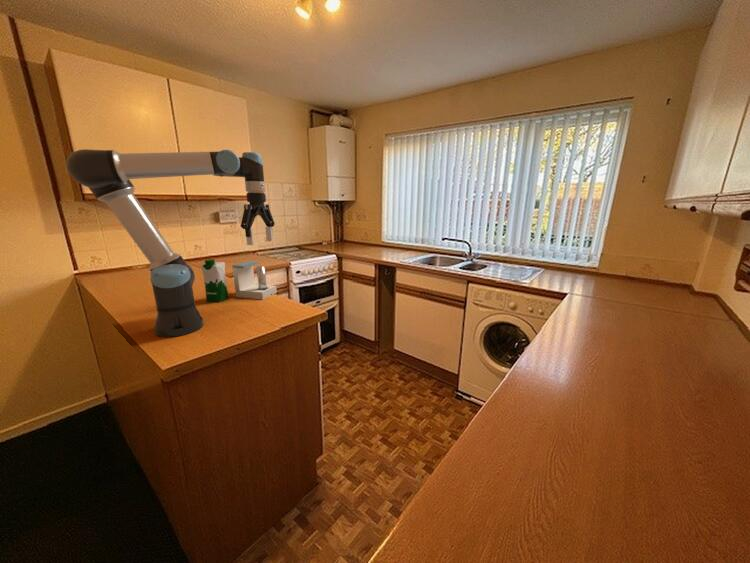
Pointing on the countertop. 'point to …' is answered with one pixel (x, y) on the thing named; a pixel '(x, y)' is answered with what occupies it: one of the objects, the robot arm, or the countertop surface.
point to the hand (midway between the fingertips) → (260, 243)
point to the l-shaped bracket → (249, 282)
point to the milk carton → (214, 280)
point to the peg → (261, 278)
